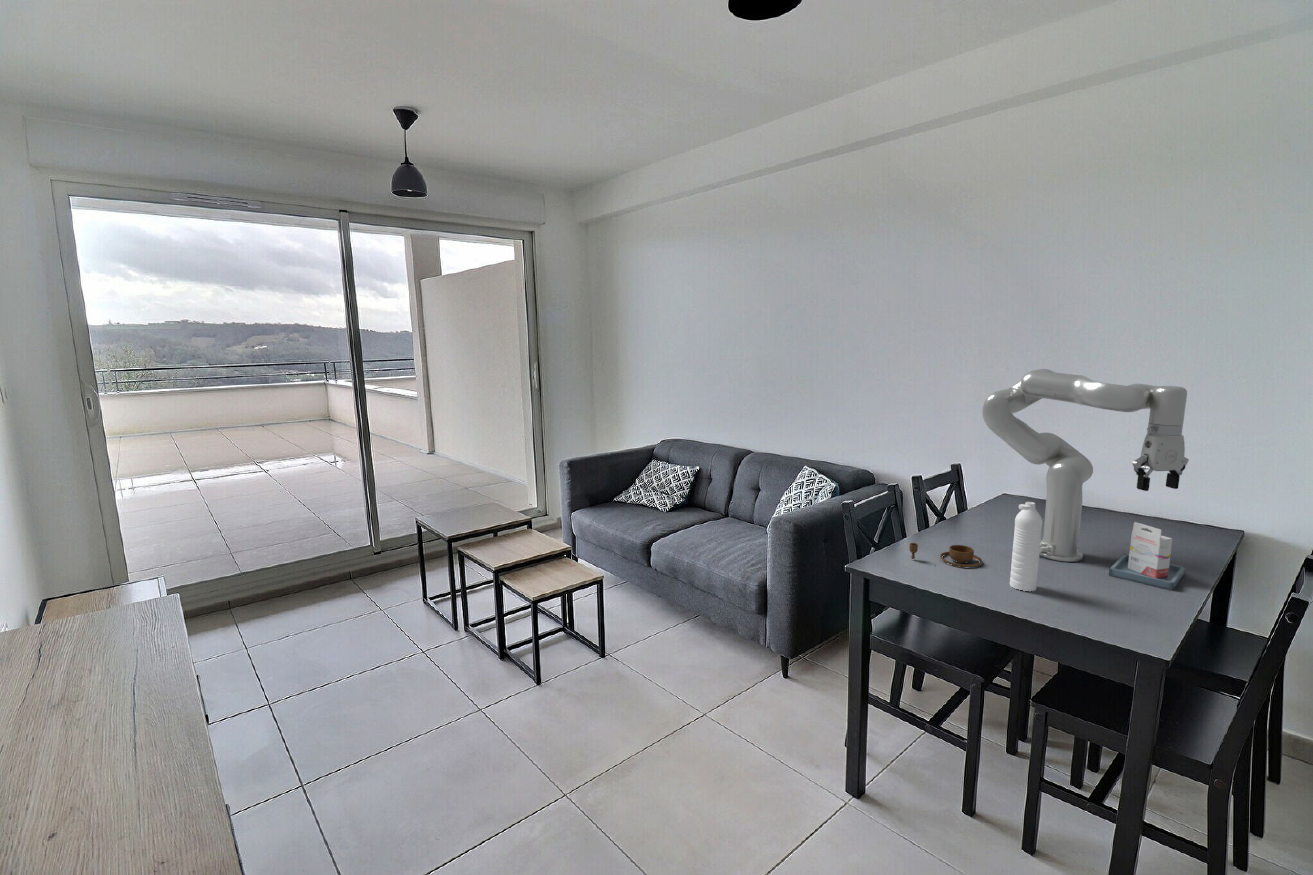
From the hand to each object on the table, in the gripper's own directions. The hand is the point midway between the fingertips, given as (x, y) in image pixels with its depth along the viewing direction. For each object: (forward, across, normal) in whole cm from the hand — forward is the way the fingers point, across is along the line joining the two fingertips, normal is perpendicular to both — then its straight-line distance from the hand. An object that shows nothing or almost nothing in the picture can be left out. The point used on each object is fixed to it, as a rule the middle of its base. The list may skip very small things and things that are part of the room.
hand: (1157, 488), depth 175 cm
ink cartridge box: (+26, 0, 0) cm, 26 cm away
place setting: (+27, -48, +23) cm, 60 cm away
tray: (+26, 0, 0) cm, 26 cm away
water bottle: (+26, -42, -1) cm, 50 cm away
